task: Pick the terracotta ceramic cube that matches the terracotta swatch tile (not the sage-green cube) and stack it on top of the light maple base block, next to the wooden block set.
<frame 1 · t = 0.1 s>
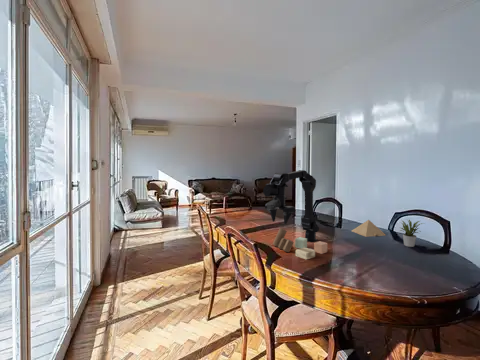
hand: (279, 222, 161), 15 cm above the table, fingers open, 9 cm apart
wooden block set: (282, 248, 163), on the table
maple base: (305, 256, 148), on the table
terracotta cube: (320, 251, 156), on the table
house plant: (411, 246, 170), on the table
sage cube: (301, 247, 165), on the table
model pyramid: (368, 234, 199), on the table
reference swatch: (307, 250, 159), on the table
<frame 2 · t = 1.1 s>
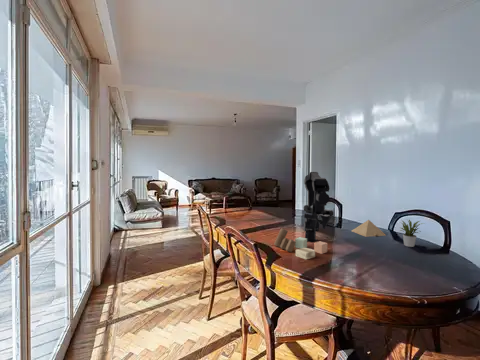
hand: (318, 229, 156), 12 cm above the table, fingers open, 9 cm apart
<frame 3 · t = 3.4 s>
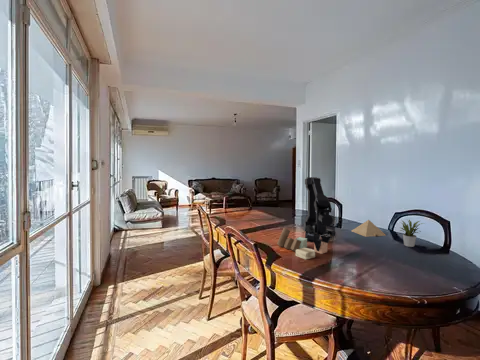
hand: (320, 249, 156), 1 cm above the table, fingers closed on terracotta cube, 5 cm apart
wooden block set: (286, 247, 164), on the table
terracotta cube: (320, 251, 156), on the table, touching gripper
everything else where it was.
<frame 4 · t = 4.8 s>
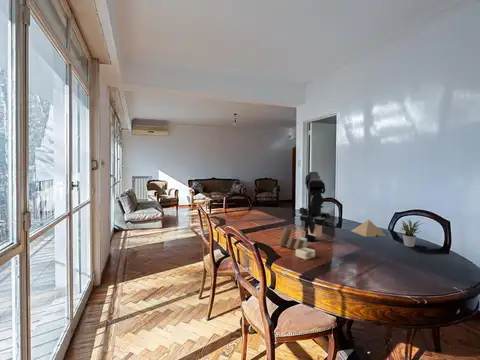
hand: (314, 232, 152), 11 cm above the table, fingers closed on terracotta cube, 5 cm apart
wooden block set: (288, 247, 165), on the table
terracotta cube: (314, 234, 152), point 10 cm above the table, touching gripper
everything else where it was.
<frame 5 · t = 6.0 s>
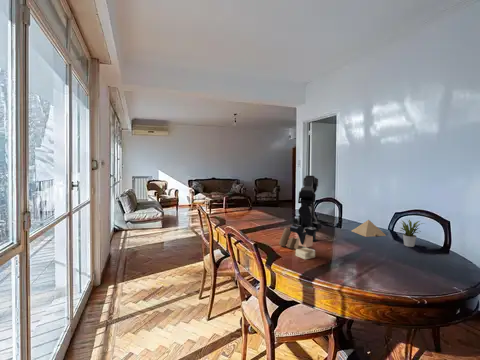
hand: (305, 243, 148), 7 cm above the table, fingers closed on terracotta cube, 5 cm apart
terracotta cube: (305, 245, 148), point 6 cm above the table, touching gripper
everything else where it was.
when the fingers open (5 cm above the table, at t = 7.0 s): terracotta cube drops 1 cm, resting on maple base.
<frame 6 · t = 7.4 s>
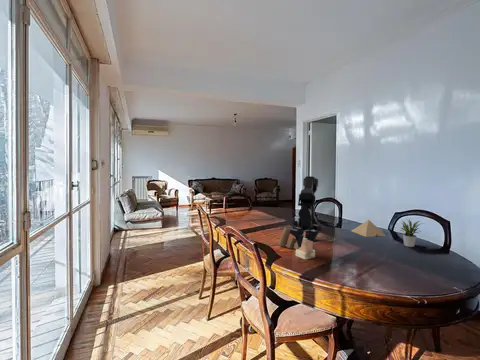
hand: (305, 245, 148), 5 cm above the table, fingers open, 9 cm apart
maple base: (305, 257, 148), on the table, touching terracotta cube
terracotta cube: (305, 250, 148), point 3 cm above the table, touching maple base
everything else where it was.
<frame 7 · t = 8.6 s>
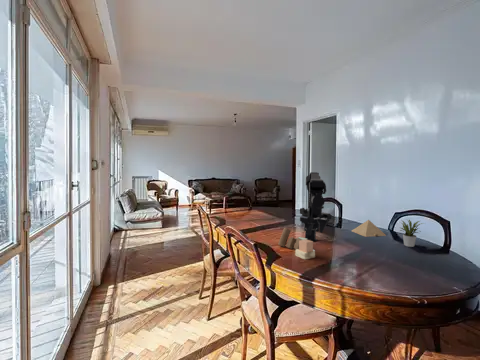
hand: (315, 233, 148), 12 cm above the table, fingers open, 9 cm apart
nothing on the table moved.
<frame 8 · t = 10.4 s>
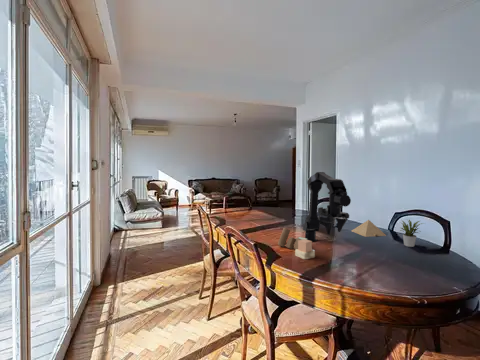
hand: (333, 233, 149), 12 cm above the table, fingers open, 9 cm apart
nothing on the table moved.
at the end: terracotta cube 0.2 cm off-centre on the maple base, point 3.5 cm above the maple base's base; terracotta cube tilted 0°; the gripper is holding nothing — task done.
